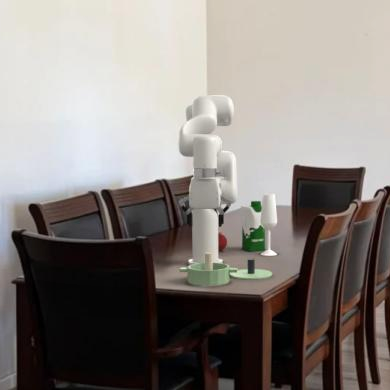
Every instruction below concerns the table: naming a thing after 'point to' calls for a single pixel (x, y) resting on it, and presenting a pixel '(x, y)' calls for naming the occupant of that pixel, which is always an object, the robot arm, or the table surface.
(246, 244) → the milk carton
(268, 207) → the champagne flute
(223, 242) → the onion
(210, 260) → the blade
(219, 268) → the pot
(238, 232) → the table surface
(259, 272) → the lid
